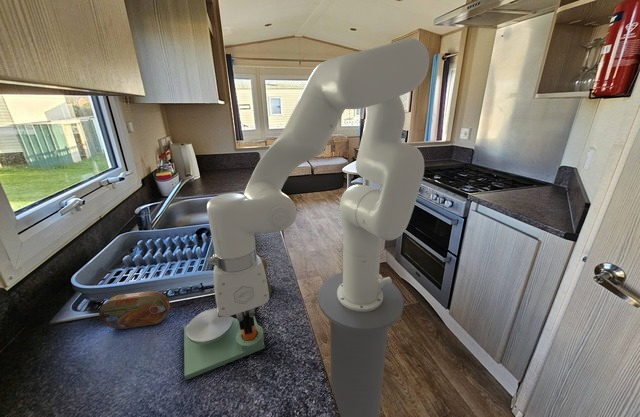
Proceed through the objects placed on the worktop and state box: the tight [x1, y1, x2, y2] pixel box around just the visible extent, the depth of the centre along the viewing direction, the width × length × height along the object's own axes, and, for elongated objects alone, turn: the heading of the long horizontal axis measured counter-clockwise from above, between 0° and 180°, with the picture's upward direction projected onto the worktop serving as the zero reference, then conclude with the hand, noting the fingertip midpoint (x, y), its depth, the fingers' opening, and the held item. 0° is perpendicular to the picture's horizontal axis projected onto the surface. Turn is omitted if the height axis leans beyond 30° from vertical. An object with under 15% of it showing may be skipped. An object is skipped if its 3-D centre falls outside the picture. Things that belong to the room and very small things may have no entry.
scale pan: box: [187, 307, 234, 344], centre depth 60 cm, size 10×10×1 cm
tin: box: [98, 290, 171, 330], centre depth 64 cm, size 15×3×8 cm, turn 99°
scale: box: [183, 311, 266, 381], centre depth 60 cm, size 16×14×3 cm
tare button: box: [242, 326, 257, 341], centre depth 58 cm, size 3×3×2 cm
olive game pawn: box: [259, 256, 272, 296], centre depth 74 cm, size 6×6×11 cm
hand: (247, 329), depth 57 cm, fingers closed
